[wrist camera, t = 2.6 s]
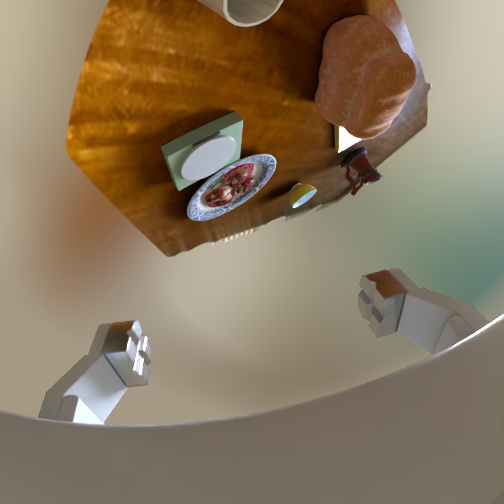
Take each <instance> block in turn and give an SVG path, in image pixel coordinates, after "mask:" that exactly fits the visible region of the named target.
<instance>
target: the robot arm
mask: <svg viewBox="0 0 504 504" xmlns="http://www.w3.org/2000/svg"><path fill="white" fill-rule="evenodd" d="M360 286H361V288H362V289H363V290H362V291H361V292H360V294H359V296H358V297H359V298H358V305H359V310H360V312H361V314H362V316H363V317H364V318H365V319H367V320H369V321H370V325H369V326H370V328H371V329H372V331H373V332H374V334H375V335H376V337H377V338H378V337H382V336H385V335H388V334H391V333H394V332H397V333H398V334H399V335H401V336H403V337H405V338H406V339H408V340H410V341H411V342H413V343H415V344H417V345H418V346H420V347H422V348H424V349H425V350H427V351H429V352H430V353H432V354H433V355H432V356H430V357H428V358H426V359H424V360H421V361H419V362H417V363H415V364H413V365H410V366H408V367H406V368H404V369H401V370H399V371H396V372H394V373H391V374H389V375H386V376H384V377H381V378H379V379H376V380H373V381H370V382H368V383H365V384H362V385H359V386H356V387H354V388H350V389H347V390H344V391H341V392H338V393H335V394H331V395H328V396H325V397H321V398H318V399H314V400H310V401H307V402H303V403H299V404H295V405H291V406H287V407H282V408H278V409H273V410H269V411H263V412H258V413H253V414H247V415H242V416H235V417H229V418H222V419H214V420H206V421H197V422H185V423H171V424H149V425H110V424H104V421H105V420H106V418H107V417H108V415H109V414H110V412H111V410H112V409H113V408H114V407H115V405H116V404H117V402H118V401H119V400H120V398H121V396H122V395H123V394H124V392H125V391H126V390H127V387H134V386H144V385H148V380H149V372H150V371H149V369H148V367H147V365H148V364H149V363H150V362H151V347H150V344H149V341H148V339H147V337H145V336H144V335H142V334H141V331H142V327H141V325H140V324H139V322H138V321H136V320H133V321H125V322H116V323H108V324H101V325H100V326H99V327H98V329H97V332H96V334H95V338H94V340H93V343H92V345H91V348H90V351H89V354H88V355H85V356H84V357H83V358H82V359H81V360H79V362H77V363H76V364H75V365H74V366H73V367H72V368H71V369H70V370H69V371H68V372H67V373H66V374H65V375H64V376H63V377H62V378H61V379H60V380H59V381H57V382H56V383H55V384H54V385H53V386H52V387H51V388H50V389H49V390H48V391H47V392H46V395H45V397H44V400H43V403H42V407H41V410H40V413H39V416H38V418H36V417H30V416H25V415H20V414H15V413H10V412H6V411H1V410H0V504H504V315H502V316H501V317H499V318H498V319H496V320H495V321H493V322H492V323H490V322H489V321H488V320H487V319H486V318H485V317H484V316H483V315H482V314H481V313H480V312H479V311H478V310H477V309H476V308H475V307H474V306H473V305H471V304H468V303H465V302H462V301H460V300H457V299H454V298H451V297H448V296H446V295H443V294H440V293H437V292H434V291H431V290H428V289H426V288H419V287H418V286H417V285H416V284H415V283H414V282H413V281H412V280H411V279H410V278H409V277H408V276H407V275H406V274H405V273H404V272H403V271H402V270H401V269H400V268H398V267H396V266H395V267H391V268H388V269H385V270H382V271H379V272H375V273H371V274H367V275H363V276H362V277H361V279H360Z"/></svg>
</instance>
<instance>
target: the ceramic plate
mask: <svg viewBox="0 0 504 504" xmlns="http://www.w3.org/2000/svg"><path fill="white" fill-rule="evenodd" d="M275 168H276V160H275V158H274V157H273V156H271V155H269V154H256V155H252V156H248V157H245V158H243V159H240V160H238V161H236V162H234V163H232V164H230V165H228V166H226V167H225V168H223V169H221V170H220V171H219V172H217V173H216V174H214V175H213V176H212V177H211V178H209V179H208V180H207V181H206V182H205V183H204V184H203V185H202V186H201V187H200V188H199V189H198V190H197V192H196V193H195V194H194V195H193V197H192V198H191V200H190V202H189V204H188V207H187V215H188V217H189V218H190V219H192V220H196V221H202V220H208V219H211V218H214V217H217V216H220V215H222V214H224V213H226V212H228V211H230V210H232V209H234V208H235V207H237V206H239V205H240V204H242V203H243V202H245V201H246V200H247V199H249V198H250V197H251V196H253V195H254V194H255V193H256V192H257V191H258V190H259V189H260V188H262V187H263V186H264V185H265V183H266V182H267V181H268V180H269V179H270V177H271V176H272V174H273V172H274V170H275Z"/></svg>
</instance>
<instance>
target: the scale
mask: <svg viewBox="0 0 504 504" xmlns="http://www.w3.org/2000/svg"><path fill="white" fill-rule="evenodd" d="M242 126H243V120H242V118H241V117H240V116H239V115H238V114H237V113H236V111H235V112H232V113H230V114H228V115H225V116H223V117H221V118H218V119H216V120H214V121H212V122H210V123H207V124H205V125H203V126H201V127H199V128H197V129H195V130H192V131H190V132H188V133H186V134H184V135H182V136H180V137H178V138H176V139H174V140H172V141H170V142H169V143H167V144H165V145H163V146H161V150H162V152H163V155H164V158H165V161H166V164H167V166H168V169H169V172H170V175H171V177H172V180H173V183H174V184H175V186H176V188H177V189H178V191H180V190H182V189H184V188H185V187H187V186H189V185H191V184H193V183H194V182H196V181H198V180H200V179H202V178H205V177H207V176H210V175H212V174H213V173H215V172H217V171H218V170H219V169H221V168H223V167H225V166H226V165H228V164H230V163H232V162H234V161H236V160H238V159H240V149H241V137H242Z"/></svg>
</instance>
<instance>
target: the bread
mask: <svg viewBox="0 0 504 504" xmlns="http://www.w3.org/2000/svg"><path fill="white" fill-rule="evenodd" d="M415 83H416V69H415V65H414V63H413V61H412V59H411V58H410V57H409V55H408V54H406V53H404V52H403V51H402V49H401V47H400V45H399V43H398V41H397V39H396V37H395V35H394V34H393V33H392V31H391V30H390V29H389V28H388V27H387V26H386V25H385V24H384V23H383V22H382V21H381V20H379V19H377V18H375V17H373V16H370V15H356V16H353V17H347V18H344V19H342V20H340V21H338V22H336V23H334V24H333V25H332V26H331V27H330V28H329V29H328V31H327V33H326V36H325V38H324V43H323V57H322V62H321V66H320V69H319V84H318V88H317V91H316V94H315V98H314V101H315V105H316V107H317V110H318V111H319V113H320V114H321V115H322V116H323V117H324V118H325V119H326V120H328V121H329V122H331V123H332V124H335V125H337V126H340V127H343V128H345V130H346V131H347V133H348V134H350V135H351V136H353V137H355V138H358V139H363V140H368V139H372V138H374V137H376V136H378V135H379V134H381V133H383V132H385V131H386V130H387V129H388V128H389V127H390V125H391V123H392V120H393V119H394V118H395V117H396V116H397V115H398V114H399V112H400V111H401V109H402V107H403V105H404V104H405V102H406V101H407V99H408V96H409V92H410V90H411V89H412V88H413V87H414V86H415Z"/></svg>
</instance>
